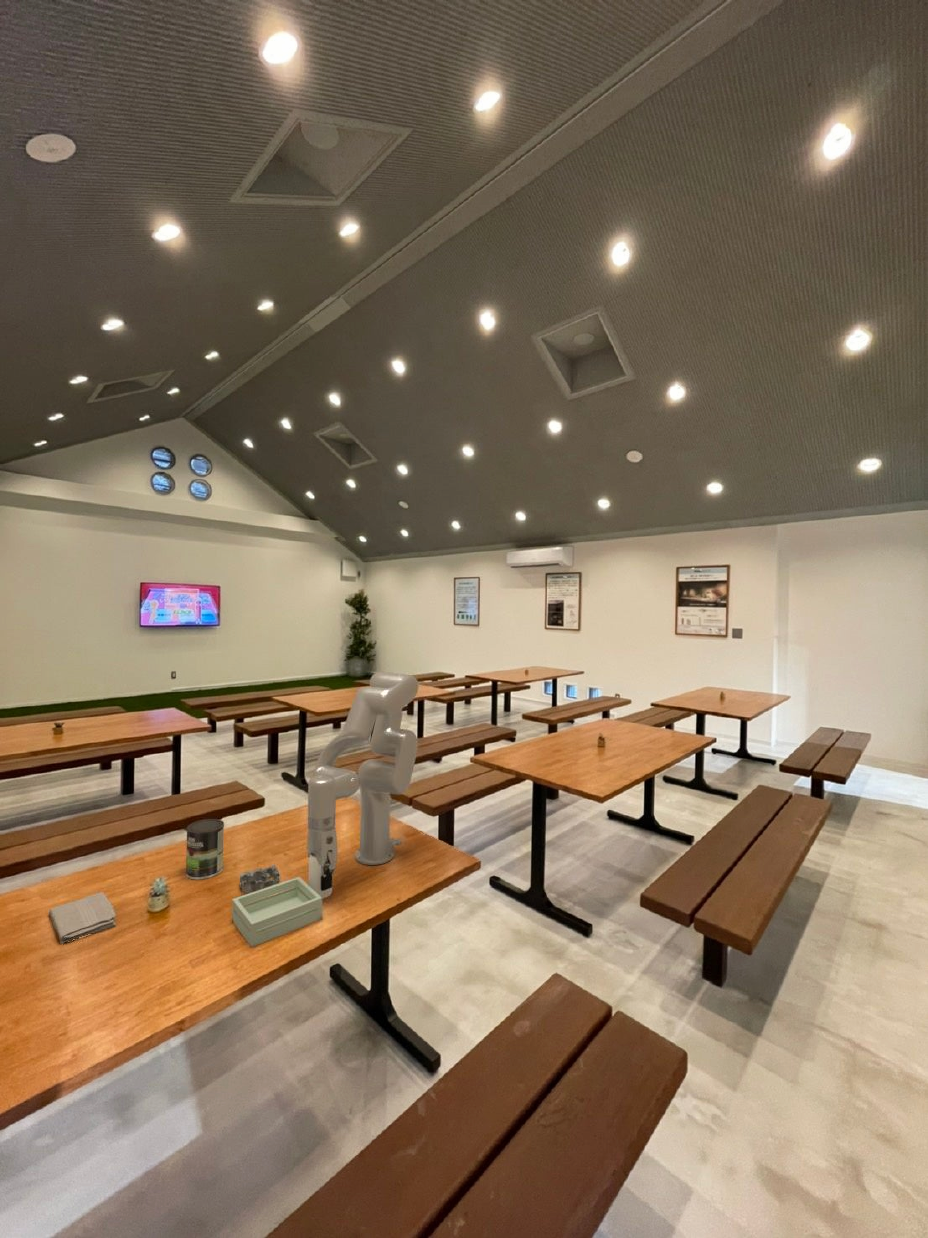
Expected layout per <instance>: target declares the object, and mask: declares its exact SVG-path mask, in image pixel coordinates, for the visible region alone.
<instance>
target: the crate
mask: <svg viewBox="0 0 928 1238" xmlns="http://www.w3.org/2000/svg"><path fill="white" fill-rule="evenodd" d="M322 919H323V899H322V897H321V896H320V895H318V894H317V893H316V892H315V891H314V890H313V889H312V888H311V887H310V886H309V883H307V882H305V881H304V880H303V878H301V877H300V876H298V877H295V878H291V879H289V880H285V881H282V882H279V884H276V885H273V886H270V887H266V888H264V889H261V890H254V891H252V893H249V894H247V893H245V894H243V895H241V896H237V897H235V898H232V900H231V921H232V923H233V924H234V925H235V927H236V928H237V929H238V931H239V932H240V933H241V935H242V937H243V938H244V940H246V942H247V943H248V944H249V946H250V947H251V948H253V947H255V946H259V945H260V944H264V943H265V942H268V941H270V940H273V939H276V938H278V937H281V936H283V935H285V934H288V933H291V932H293V931H295V930H298V929H301V928H302V927H306V926H308V925H310V924H312V923H313V924H314V923H315V922H319V921H320V920H322Z"/></svg>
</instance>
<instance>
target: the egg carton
mask: <svg viewBox="0 0 928 1238" xmlns="http://www.w3.org/2000/svg"><path fill="white" fill-rule="evenodd" d="M271 878H273V879H271ZM280 878H282V877H281V875H280V872H279V870H278V868H277V866H276V864H273V865H271V866H268V867H264V868H259V869H256V870H255V869H254V870H252V871H251V870H250V871H244V872H242V873H241V874H240V875H239V876H238V879H239V888H240V889H241V893H242V894H249V893H252V892H255V891H258V890H261V889H264V888H267V887H270V886H273V885H276V884H279V883H280Z"/></svg>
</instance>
